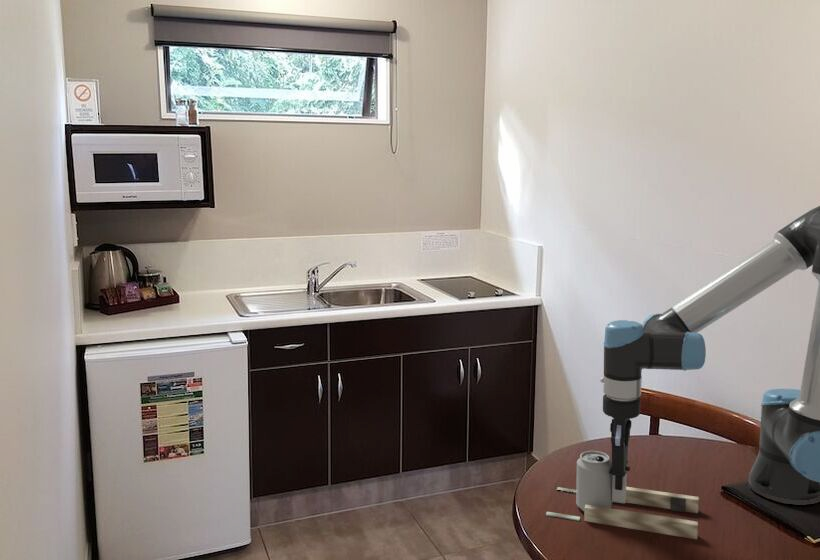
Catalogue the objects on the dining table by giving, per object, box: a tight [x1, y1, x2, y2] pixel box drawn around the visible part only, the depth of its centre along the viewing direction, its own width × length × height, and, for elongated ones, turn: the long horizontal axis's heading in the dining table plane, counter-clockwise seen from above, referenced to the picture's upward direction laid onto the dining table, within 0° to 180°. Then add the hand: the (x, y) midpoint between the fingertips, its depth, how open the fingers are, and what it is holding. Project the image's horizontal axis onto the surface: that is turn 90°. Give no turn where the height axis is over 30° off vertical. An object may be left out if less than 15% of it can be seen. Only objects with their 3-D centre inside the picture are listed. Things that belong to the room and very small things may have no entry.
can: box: [575, 450, 613, 512], centre depth 156 cm, size 8×8×12 cm
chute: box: [545, 486, 700, 540], centre depth 155 cm, size 30×13×3 cm, turn 68°
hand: (618, 501), depth 155 cm, fingers closed
